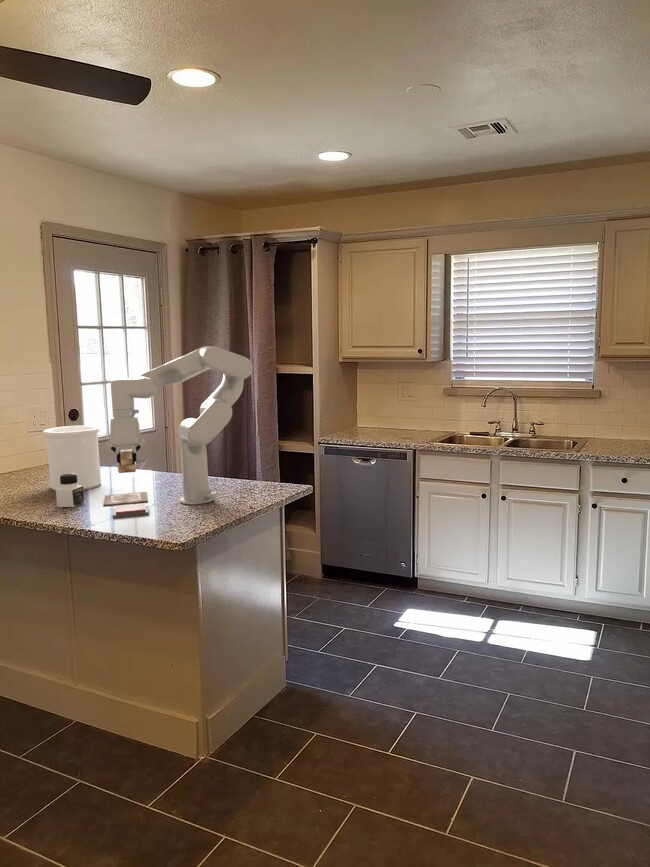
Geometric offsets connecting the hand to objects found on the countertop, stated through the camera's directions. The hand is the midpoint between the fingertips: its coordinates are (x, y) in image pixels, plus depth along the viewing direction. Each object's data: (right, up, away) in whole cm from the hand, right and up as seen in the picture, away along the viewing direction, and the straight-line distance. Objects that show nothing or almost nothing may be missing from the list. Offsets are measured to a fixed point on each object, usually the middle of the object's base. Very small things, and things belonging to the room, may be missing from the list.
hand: (127, 463), depth 244 cm
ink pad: (+2, -18, -2) cm, 18 cm away
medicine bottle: (-25, -17, +13) cm, 33 cm away
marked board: (-6, -15, +19) cm, 25 cm away
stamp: (0, -3, 0) cm, 3 cm away
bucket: (-35, -12, +45) cm, 58 cm away
